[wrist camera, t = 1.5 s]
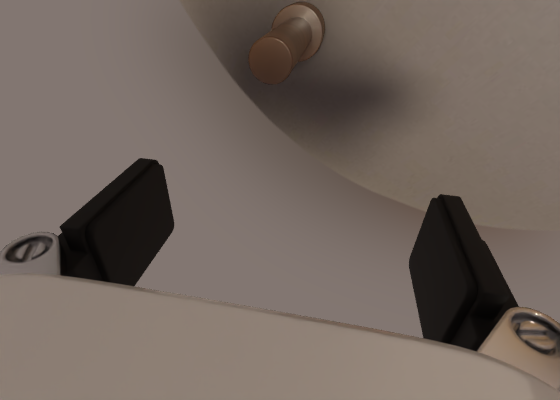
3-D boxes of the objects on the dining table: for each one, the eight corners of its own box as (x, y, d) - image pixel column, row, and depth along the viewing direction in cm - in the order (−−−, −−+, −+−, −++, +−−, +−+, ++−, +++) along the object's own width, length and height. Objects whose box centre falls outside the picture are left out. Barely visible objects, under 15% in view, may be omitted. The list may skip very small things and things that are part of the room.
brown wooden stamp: (268, 20, 30) (218, 46, 18) (310, -10, 28) (282, -1, 17) (292, 64, 32) (260, 112, 20) (333, 39, 30) (322, 76, 18)
